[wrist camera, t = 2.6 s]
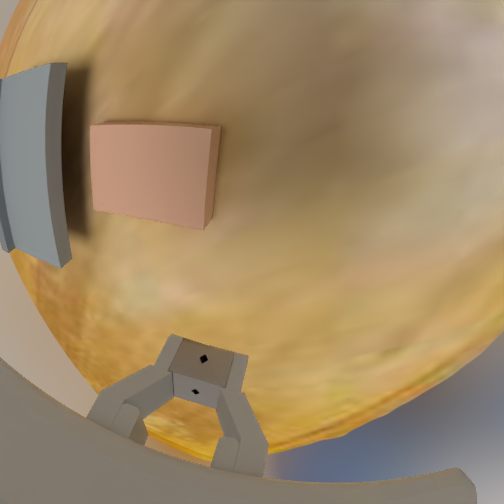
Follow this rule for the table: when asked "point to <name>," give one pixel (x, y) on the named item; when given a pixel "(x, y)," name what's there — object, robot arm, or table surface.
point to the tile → (155, 170)
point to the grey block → (33, 164)
